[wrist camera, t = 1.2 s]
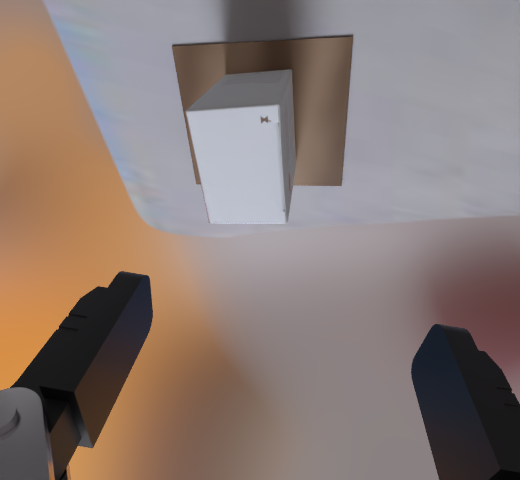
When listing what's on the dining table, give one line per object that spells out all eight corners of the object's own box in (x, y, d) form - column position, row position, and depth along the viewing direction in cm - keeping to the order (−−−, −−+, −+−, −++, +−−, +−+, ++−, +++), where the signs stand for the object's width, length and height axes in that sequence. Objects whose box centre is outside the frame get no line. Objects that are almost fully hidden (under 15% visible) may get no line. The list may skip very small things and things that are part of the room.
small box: (224, 73, 28) (181, 106, 20) (293, 67, 27) (280, 100, 19) (237, 166, 33) (206, 226, 24) (297, 164, 32) (287, 226, 23)
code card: (352, 36, 26) (353, 36, 26) (341, 185, 33) (341, 185, 32) (172, 46, 28) (171, 46, 28) (196, 183, 35) (196, 184, 35)
